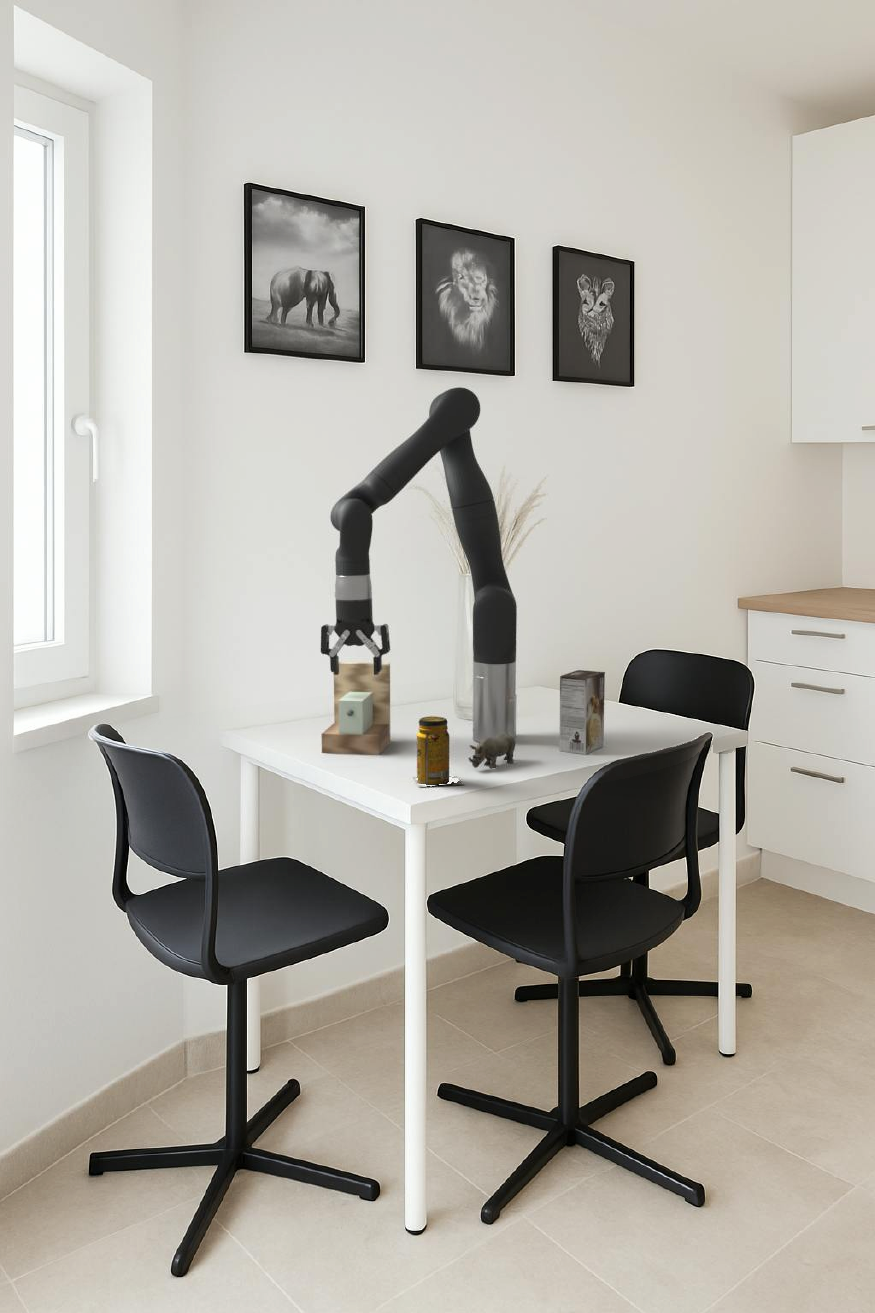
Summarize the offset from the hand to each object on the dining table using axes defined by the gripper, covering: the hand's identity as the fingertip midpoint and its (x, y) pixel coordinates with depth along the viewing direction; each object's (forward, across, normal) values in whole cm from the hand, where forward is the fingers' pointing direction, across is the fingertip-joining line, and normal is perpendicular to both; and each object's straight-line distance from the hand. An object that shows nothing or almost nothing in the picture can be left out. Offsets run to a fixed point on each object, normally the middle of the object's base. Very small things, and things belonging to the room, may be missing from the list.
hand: (356, 674), depth 222 cm
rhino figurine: (+17, -29, +11) cm, 35 cm away
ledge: (+16, +1, 0) cm, 16 cm away
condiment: (+16, -20, +24) cm, 35 cm away
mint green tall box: (+12, 0, 0) cm, 12 cm away
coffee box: (+17, -46, -6) cm, 50 cm away
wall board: (+16, 0, -7) cm, 17 cm away
